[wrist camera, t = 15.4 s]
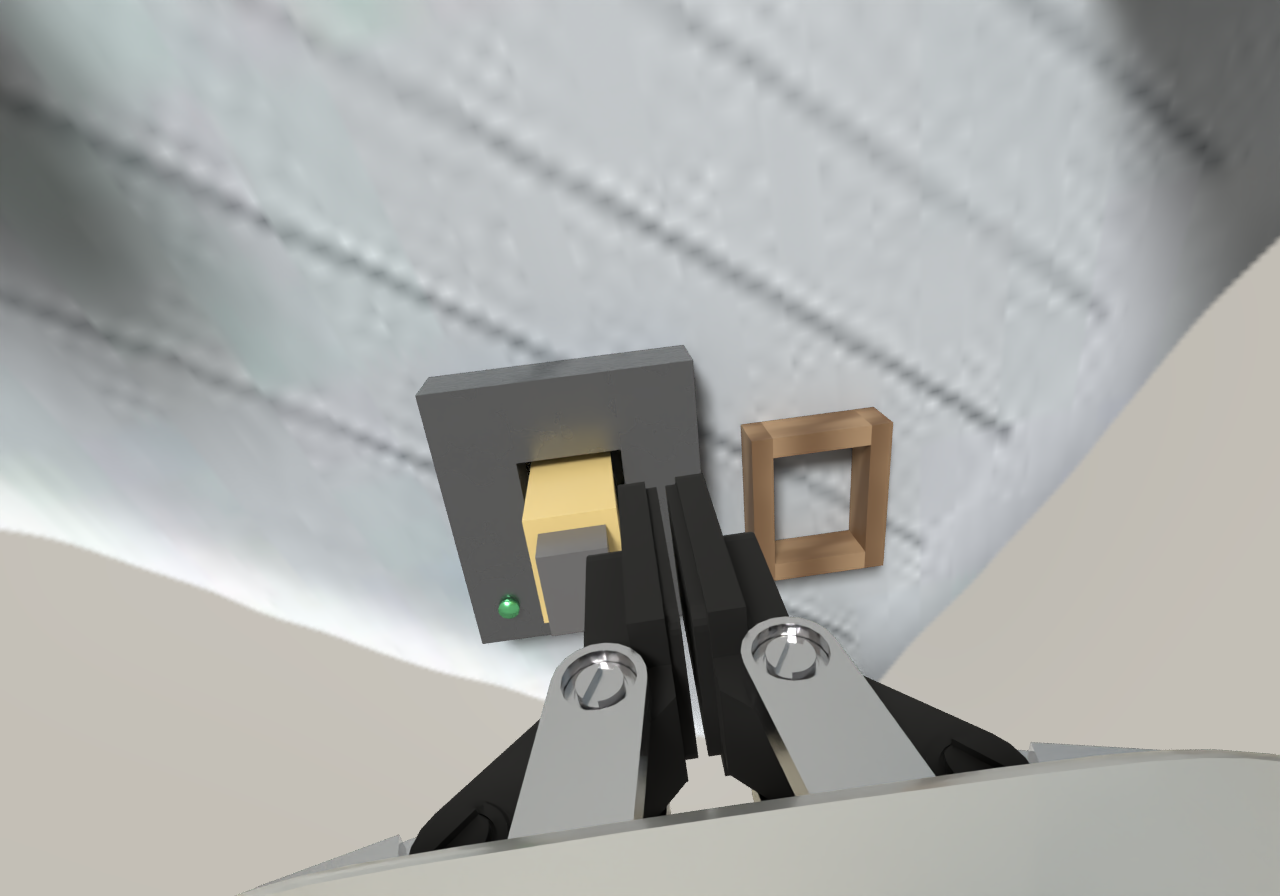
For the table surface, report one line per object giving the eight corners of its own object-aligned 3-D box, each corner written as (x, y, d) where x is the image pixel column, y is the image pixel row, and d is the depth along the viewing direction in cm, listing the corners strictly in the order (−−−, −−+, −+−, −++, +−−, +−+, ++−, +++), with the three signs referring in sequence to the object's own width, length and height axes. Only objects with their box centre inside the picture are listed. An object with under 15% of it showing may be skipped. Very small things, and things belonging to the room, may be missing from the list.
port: (683, 345, 34) (694, 362, 31) (702, 581, 41) (712, 615, 38) (428, 377, 34) (413, 398, 31) (489, 611, 40) (481, 648, 37)
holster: (873, 407, 37) (893, 422, 34) (866, 543, 41) (883, 565, 38) (740, 424, 36) (751, 441, 34) (746, 560, 40) (756, 583, 38)
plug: (608, 439, 36) (618, 530, 27) (621, 527, 39) (634, 637, 30) (533, 450, 36) (517, 544, 27) (550, 537, 38) (542, 651, 29)
